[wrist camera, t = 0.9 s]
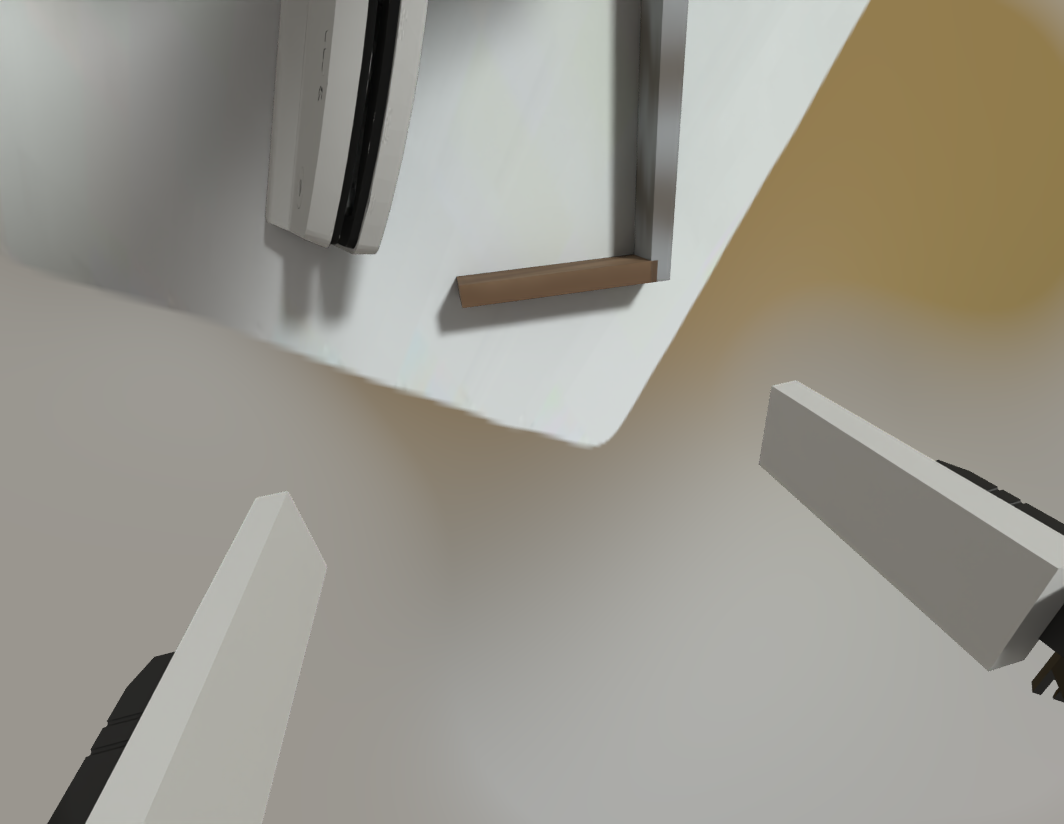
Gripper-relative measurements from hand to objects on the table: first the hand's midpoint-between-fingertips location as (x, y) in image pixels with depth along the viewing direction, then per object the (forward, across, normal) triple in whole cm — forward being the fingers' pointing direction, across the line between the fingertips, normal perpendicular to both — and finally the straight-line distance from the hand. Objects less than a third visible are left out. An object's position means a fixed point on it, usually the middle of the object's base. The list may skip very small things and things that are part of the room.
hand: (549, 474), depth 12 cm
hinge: (+24, -5, +12) cm, 27 cm away
